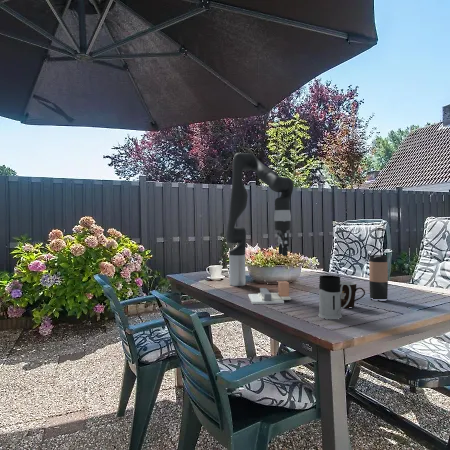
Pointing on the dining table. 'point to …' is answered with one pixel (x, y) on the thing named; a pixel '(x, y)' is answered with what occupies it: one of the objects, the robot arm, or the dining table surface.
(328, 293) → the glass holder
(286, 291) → the tan block on plate
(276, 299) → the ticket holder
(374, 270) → the travel mug
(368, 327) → the dining table surface
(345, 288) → the coffee mug
